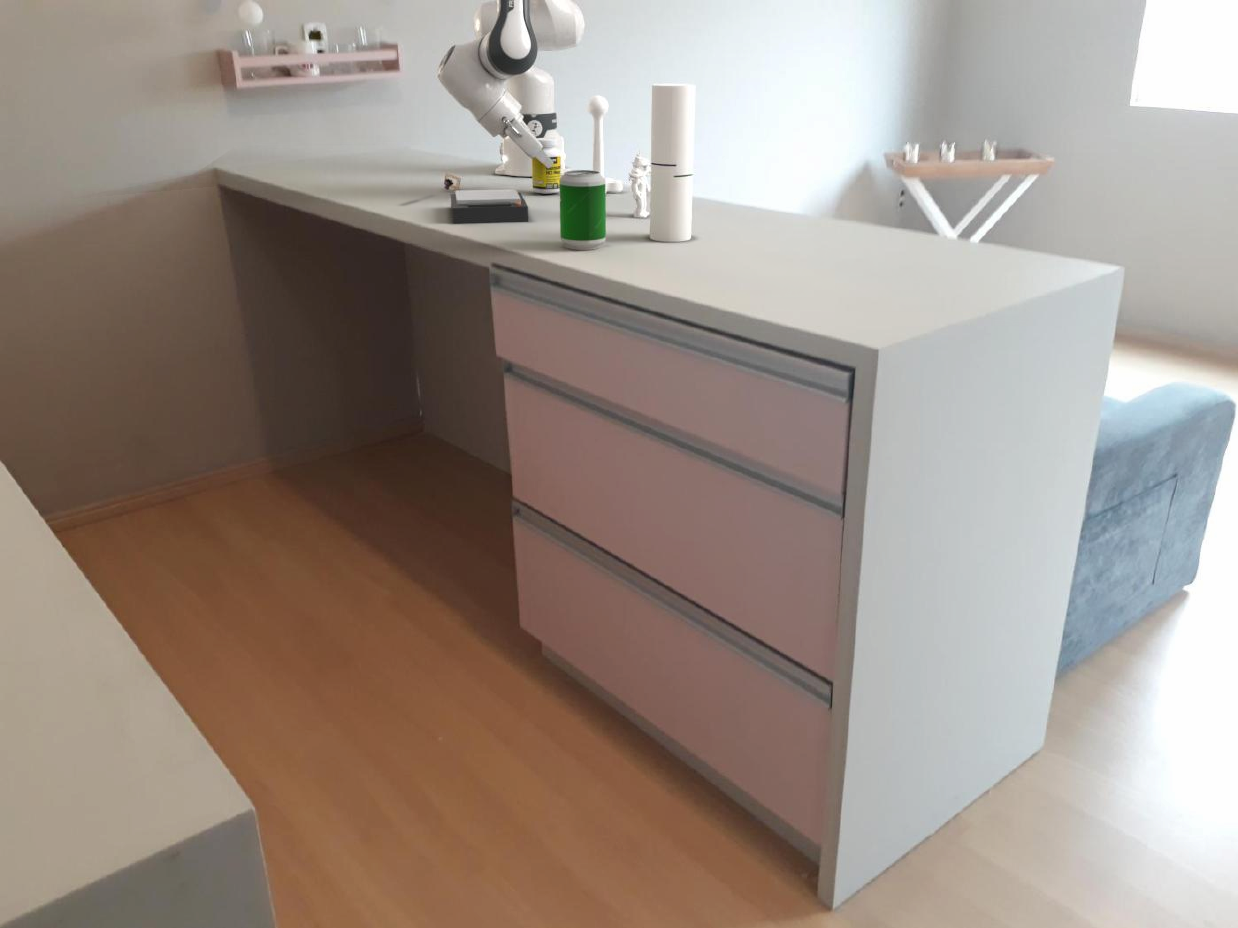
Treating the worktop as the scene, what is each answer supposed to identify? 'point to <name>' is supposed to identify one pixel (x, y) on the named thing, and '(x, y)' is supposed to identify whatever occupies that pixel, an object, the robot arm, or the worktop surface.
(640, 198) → the hat wearing toy figure
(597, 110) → the joystick
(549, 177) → the pill bottle
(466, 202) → the scale
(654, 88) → the cylindrical container
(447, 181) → the framed picture
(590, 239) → the soda can
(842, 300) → the worktop surface
